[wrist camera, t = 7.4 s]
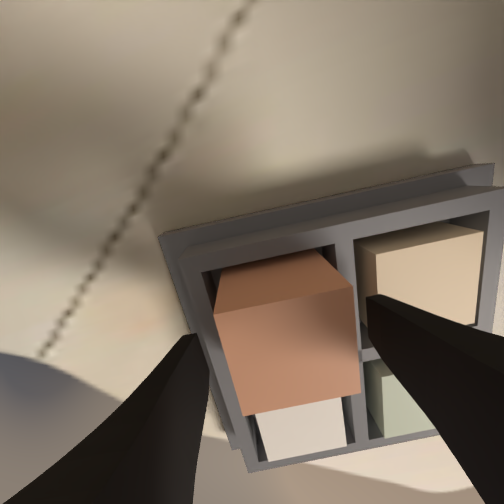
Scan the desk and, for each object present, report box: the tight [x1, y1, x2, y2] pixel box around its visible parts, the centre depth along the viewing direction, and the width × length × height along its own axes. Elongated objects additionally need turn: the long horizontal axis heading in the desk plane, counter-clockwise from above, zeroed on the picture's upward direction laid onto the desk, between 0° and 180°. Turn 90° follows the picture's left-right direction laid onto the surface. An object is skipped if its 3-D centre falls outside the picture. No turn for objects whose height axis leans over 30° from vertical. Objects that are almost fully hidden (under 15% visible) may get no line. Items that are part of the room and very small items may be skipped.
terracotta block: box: [213, 248, 361, 416], centre depth 11 cm, size 5×5×5 cm
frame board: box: [158, 163, 504, 473], centre depth 13 cm, size 17×16×4 cm
